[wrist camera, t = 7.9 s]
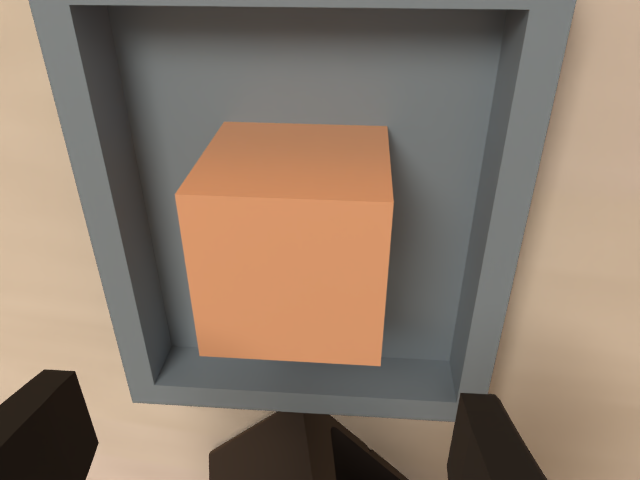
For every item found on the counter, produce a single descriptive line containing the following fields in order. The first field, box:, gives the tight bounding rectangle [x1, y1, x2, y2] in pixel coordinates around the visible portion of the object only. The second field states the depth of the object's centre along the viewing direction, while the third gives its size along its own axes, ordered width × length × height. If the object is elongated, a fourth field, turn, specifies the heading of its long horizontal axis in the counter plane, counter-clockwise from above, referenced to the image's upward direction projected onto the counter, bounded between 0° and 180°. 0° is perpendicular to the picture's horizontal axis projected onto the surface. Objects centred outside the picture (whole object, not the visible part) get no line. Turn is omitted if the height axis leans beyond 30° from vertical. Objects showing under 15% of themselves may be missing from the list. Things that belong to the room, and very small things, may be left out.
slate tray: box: [29, 0, 576, 422], centre depth 17 cm, size 13×15×2 cm
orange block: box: [175, 122, 394, 366], centre depth 16 cm, size 5×5×5 cm
